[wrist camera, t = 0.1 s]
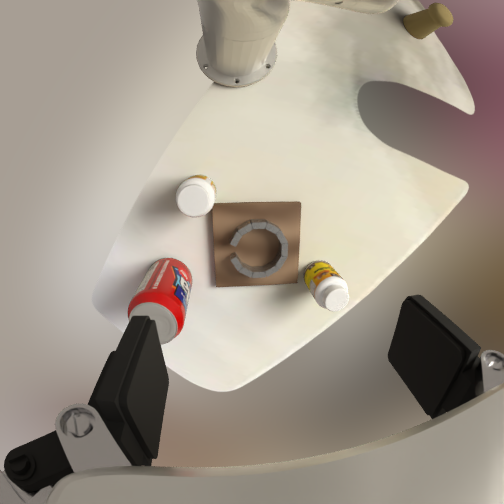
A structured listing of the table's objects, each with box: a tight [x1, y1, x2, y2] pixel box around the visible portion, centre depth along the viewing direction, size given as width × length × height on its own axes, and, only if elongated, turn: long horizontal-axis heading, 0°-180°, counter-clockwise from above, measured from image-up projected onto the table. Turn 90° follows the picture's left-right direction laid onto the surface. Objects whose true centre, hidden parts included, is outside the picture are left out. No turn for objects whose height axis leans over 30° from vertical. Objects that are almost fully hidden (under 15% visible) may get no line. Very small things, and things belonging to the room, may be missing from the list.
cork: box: [403, 3, 453, 39], centre depth 29 cm, size 6×6×11 cm
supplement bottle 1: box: [176, 175, 216, 217], centre depth 39 cm, size 5×5×10 cm
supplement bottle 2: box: [304, 261, 349, 312], centre depth 45 cm, size 6×6×10 cm
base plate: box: [212, 202, 301, 287], centre depth 46 cm, size 14×14×1 cm
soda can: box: [128, 258, 192, 345], centre depth 40 cm, size 8×8×15 cm
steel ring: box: [230, 219, 288, 278], centre depth 45 cm, size 9×9×2 cm
